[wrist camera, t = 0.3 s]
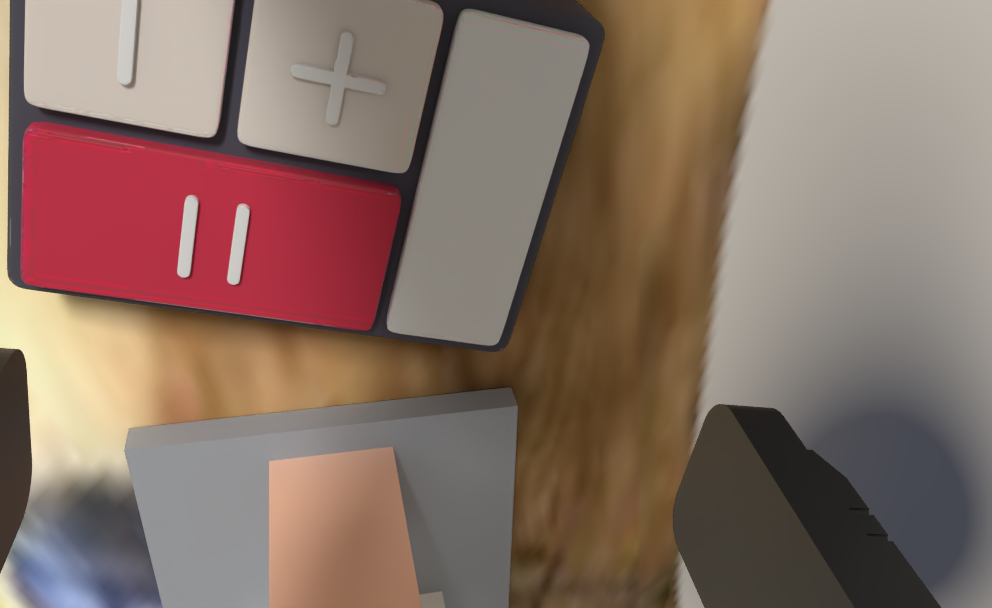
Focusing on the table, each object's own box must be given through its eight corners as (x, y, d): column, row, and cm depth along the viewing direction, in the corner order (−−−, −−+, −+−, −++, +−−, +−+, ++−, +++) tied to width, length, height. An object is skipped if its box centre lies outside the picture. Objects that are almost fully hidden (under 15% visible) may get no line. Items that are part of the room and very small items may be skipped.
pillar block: (268, 461, 33) (269, 642, 26) (392, 446, 34) (423, 618, 27) (281, 549, 35) (284, 736, 28) (396, 533, 36) (425, 711, 29)
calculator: (-2, -121, 20) (619, 30, 24) (48, -138, 24) (579, -4, 28) (-3, 302, 25) (510, 369, 29) (38, 234, 29) (489, 302, 33)
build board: (128, 428, 32) (119, 473, 30) (510, 386, 35) (525, 425, 33) (201, 734, 42) (198, 784, 40) (498, 683, 44) (509, 727, 42)
